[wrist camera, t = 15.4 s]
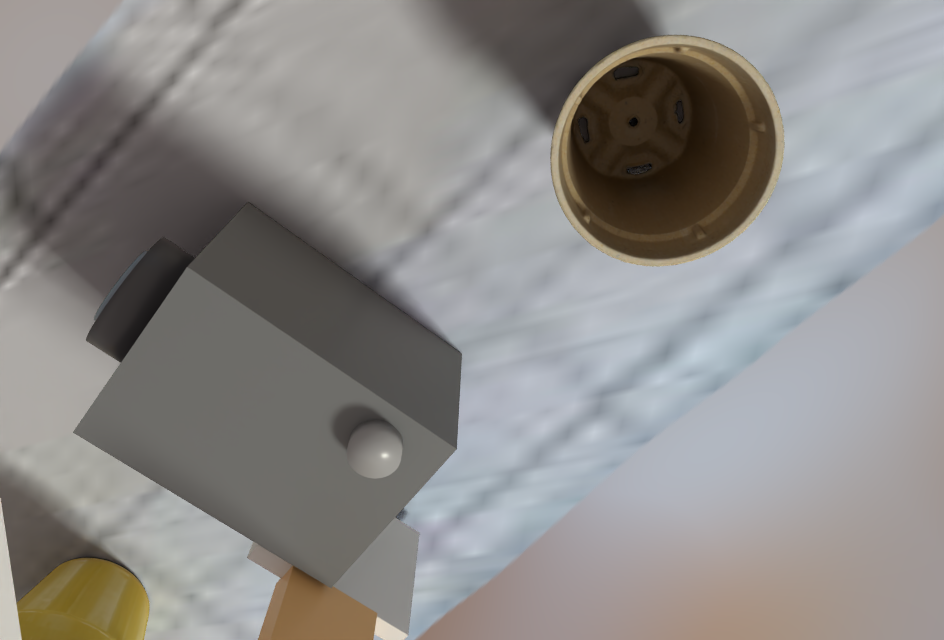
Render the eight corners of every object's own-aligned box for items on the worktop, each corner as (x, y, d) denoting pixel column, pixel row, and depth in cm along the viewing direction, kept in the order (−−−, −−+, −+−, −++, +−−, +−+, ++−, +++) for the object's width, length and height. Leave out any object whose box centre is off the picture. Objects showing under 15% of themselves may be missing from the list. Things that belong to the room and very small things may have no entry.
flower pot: (667, -24, 41) (712, -17, 33) (763, 141, 43) (825, 184, 36) (501, 95, 43) (504, 128, 35) (602, 244, 46) (627, 306, 38)
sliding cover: (420, 531, 52) (389, 817, 35) (404, 549, 52) (366, 838, 35) (294, 450, 50) (195, 712, 33) (278, 469, 50) (173, 736, 33)
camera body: (461, 354, 48) (456, 460, 38) (356, 476, 51) (325, 605, 41) (209, 175, 44) (129, 241, 34) (113, 319, 48) (12, 418, 38)
